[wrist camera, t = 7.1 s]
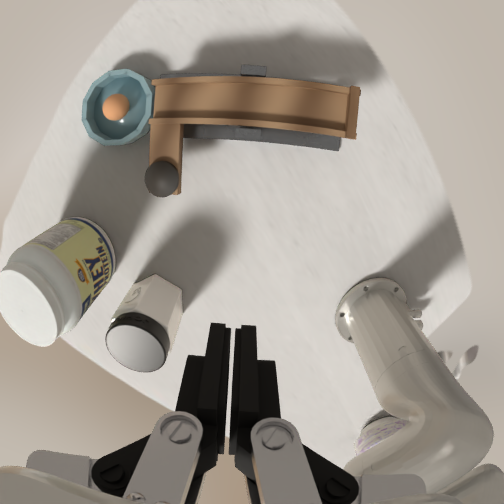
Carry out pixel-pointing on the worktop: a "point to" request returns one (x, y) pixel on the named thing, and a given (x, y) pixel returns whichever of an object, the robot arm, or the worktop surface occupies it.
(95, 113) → the dish
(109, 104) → the ball
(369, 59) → the worktop surface
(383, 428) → the paper bowls
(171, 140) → the lever
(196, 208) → the worktop surface
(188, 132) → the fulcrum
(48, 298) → the supplement tub
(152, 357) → the jar
